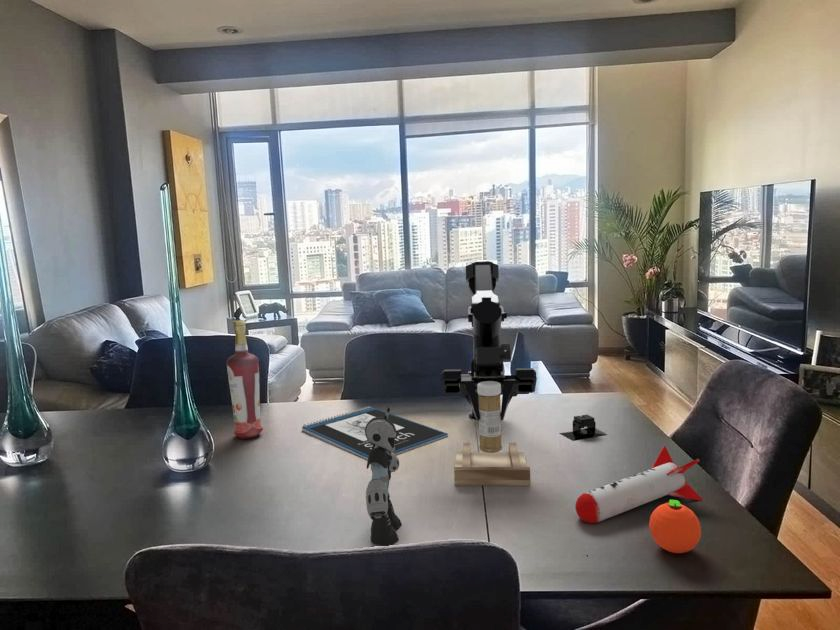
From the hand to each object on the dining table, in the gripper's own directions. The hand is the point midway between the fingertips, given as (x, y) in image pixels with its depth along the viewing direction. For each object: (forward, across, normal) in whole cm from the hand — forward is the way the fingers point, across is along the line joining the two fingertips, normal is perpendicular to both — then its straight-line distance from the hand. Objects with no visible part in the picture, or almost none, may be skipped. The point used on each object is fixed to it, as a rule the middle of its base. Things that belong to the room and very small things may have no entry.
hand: (490, 419), depth 113 cm
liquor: (-7, -57, +23) cm, 62 cm away
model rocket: (+18, +23, -2) cm, 29 cm away
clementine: (+27, +26, -12) cm, 39 cm away
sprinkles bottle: (+4, 0, +6) cm, 7 cm away
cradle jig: (+7, 0, +8) cm, 11 cm away
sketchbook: (-8, -27, +25) cm, 38 cm away
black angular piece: (-7, +22, +23) cm, 33 cm away
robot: (+24, -18, -9) cm, 31 cm away
